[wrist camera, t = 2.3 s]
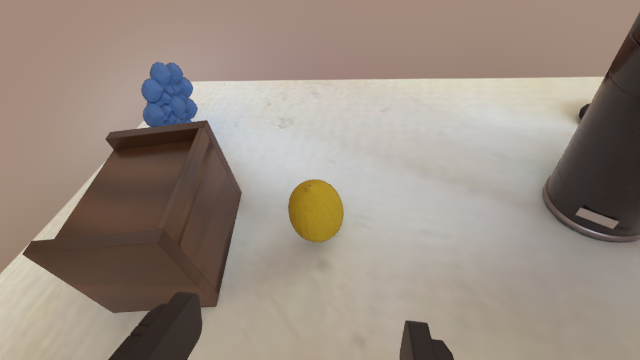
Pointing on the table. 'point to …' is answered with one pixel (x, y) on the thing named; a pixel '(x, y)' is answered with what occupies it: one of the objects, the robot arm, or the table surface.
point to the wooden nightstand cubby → (149, 221)
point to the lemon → (315, 210)
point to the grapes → (167, 96)
